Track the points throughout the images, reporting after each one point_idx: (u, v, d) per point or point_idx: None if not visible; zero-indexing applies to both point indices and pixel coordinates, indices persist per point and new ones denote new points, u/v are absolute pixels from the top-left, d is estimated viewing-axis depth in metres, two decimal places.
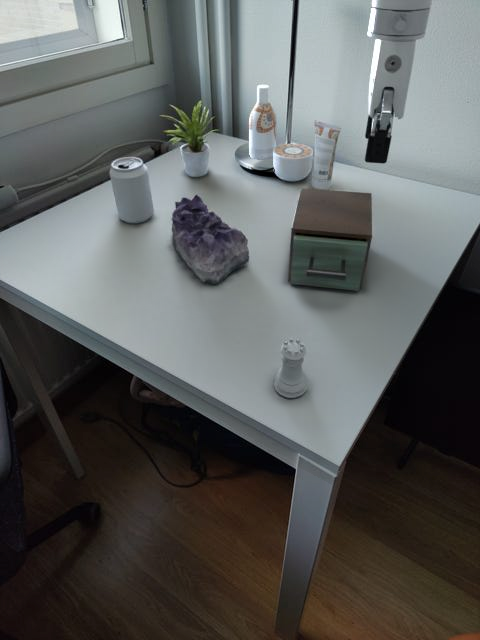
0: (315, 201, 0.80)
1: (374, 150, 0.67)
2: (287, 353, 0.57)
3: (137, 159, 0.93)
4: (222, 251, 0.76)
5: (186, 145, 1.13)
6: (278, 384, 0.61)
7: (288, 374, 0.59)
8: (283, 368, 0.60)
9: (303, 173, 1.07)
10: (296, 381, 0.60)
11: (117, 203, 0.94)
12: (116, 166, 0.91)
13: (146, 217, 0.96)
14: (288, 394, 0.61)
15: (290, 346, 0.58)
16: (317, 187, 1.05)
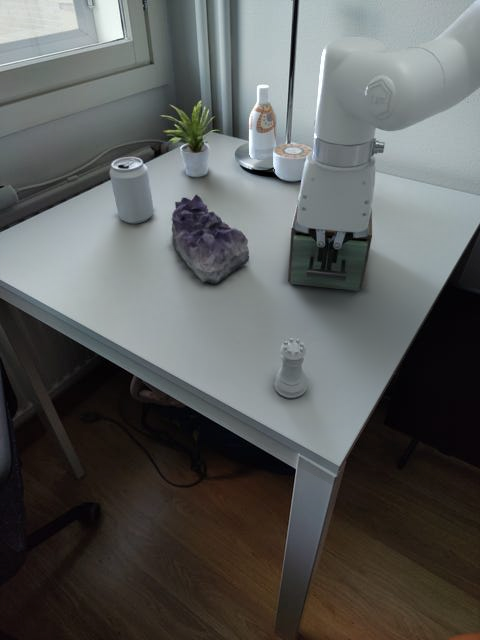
0: None
1: (337, 256, 0.70)
2: (287, 353, 0.57)
3: (137, 159, 0.93)
4: (222, 251, 0.76)
5: (186, 145, 1.13)
6: (278, 384, 0.61)
7: (288, 374, 0.59)
8: (283, 368, 0.60)
9: None
10: (296, 381, 0.60)
11: (117, 203, 0.94)
12: (116, 166, 0.91)
13: (146, 217, 0.96)
14: (288, 394, 0.61)
15: (290, 346, 0.58)
16: None
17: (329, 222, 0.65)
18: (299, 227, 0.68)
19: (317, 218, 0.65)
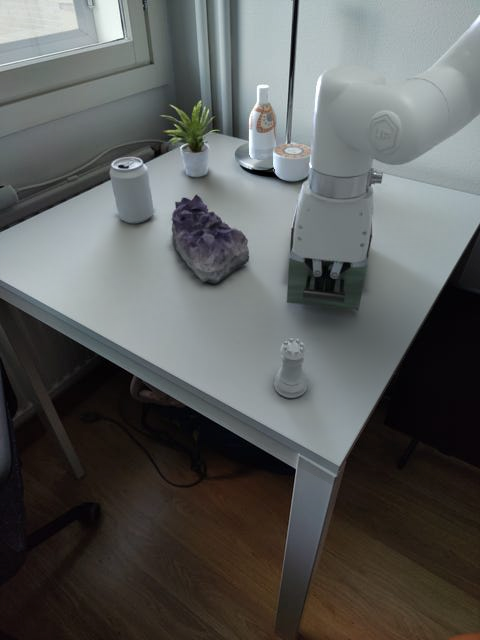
0: None
1: (334, 285, 0.68)
2: (287, 353, 0.57)
3: (137, 159, 0.93)
4: (222, 251, 0.76)
5: (186, 145, 1.13)
6: (278, 384, 0.61)
7: (288, 374, 0.59)
8: (283, 368, 0.60)
9: (303, 173, 1.07)
10: (296, 381, 0.60)
11: (117, 203, 0.94)
12: (116, 166, 0.91)
13: (146, 217, 0.96)
14: (288, 394, 0.61)
15: (290, 346, 0.58)
16: None
17: (326, 252, 0.63)
18: (295, 256, 0.66)
19: (313, 248, 0.63)
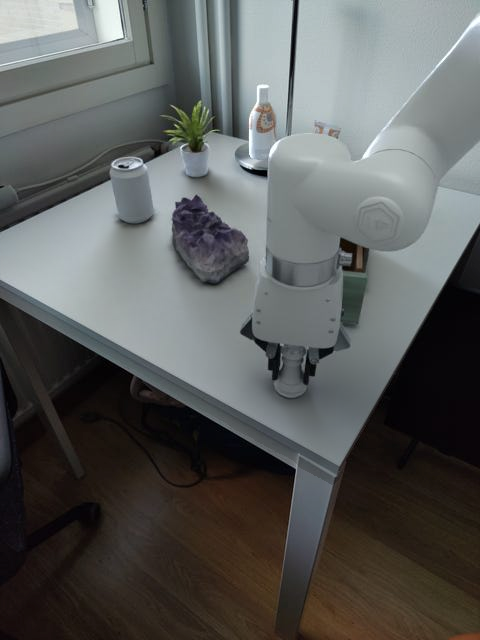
0: None
1: (315, 369, 0.59)
2: (287, 353, 0.57)
3: (137, 159, 0.93)
4: (222, 251, 0.76)
5: (186, 145, 1.13)
6: (278, 384, 0.61)
7: (288, 374, 0.59)
8: (283, 368, 0.60)
9: None
10: (296, 381, 0.60)
11: (117, 203, 0.94)
12: (116, 166, 0.91)
13: (146, 217, 0.96)
14: (288, 394, 0.61)
15: (290, 346, 0.58)
16: None
17: (289, 338, 0.54)
18: (245, 332, 0.57)
19: (275, 333, 0.54)
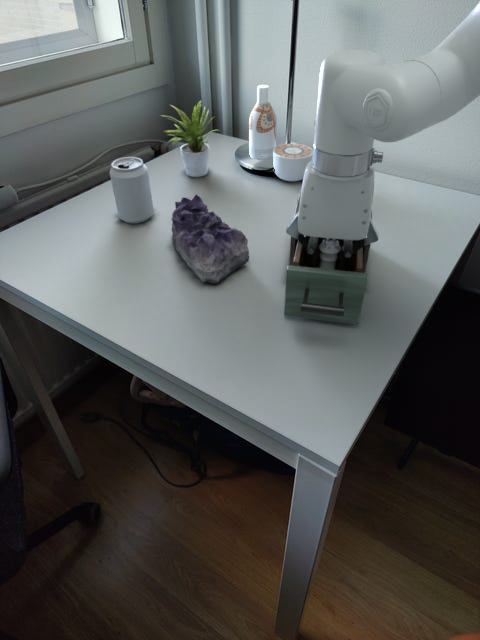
0: None
1: None
2: (325, 248, 0.69)
3: (137, 159, 0.93)
4: (222, 251, 0.76)
5: (186, 145, 1.13)
6: None
7: None
8: (320, 265, 0.72)
9: (303, 173, 1.07)
10: None
11: (117, 203, 0.94)
12: (116, 166, 0.91)
13: (146, 217, 0.96)
14: None
15: (328, 244, 0.70)
16: None
17: (329, 230, 0.66)
18: (290, 231, 0.69)
19: (317, 226, 0.66)
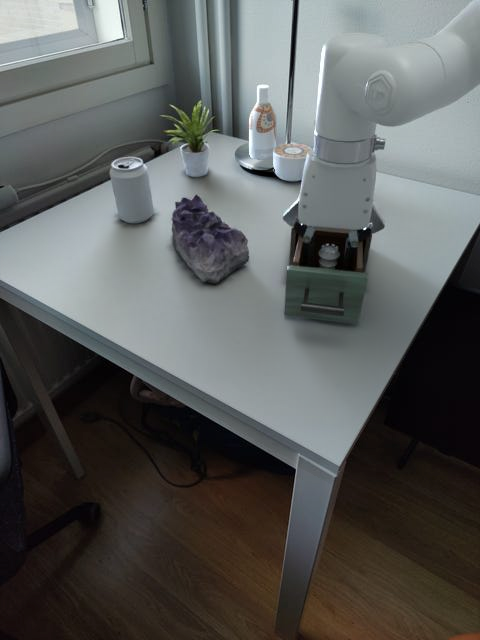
0: None
1: None
2: (324, 254, 0.70)
3: (137, 159, 0.93)
4: (222, 251, 0.76)
5: (186, 145, 1.13)
6: None
7: None
8: None
9: None
10: None
11: (117, 203, 0.94)
12: (116, 166, 0.91)
13: (146, 217, 0.96)
14: None
15: (327, 249, 0.70)
16: None
17: (330, 220, 0.65)
18: (287, 218, 0.68)
19: (318, 216, 0.65)
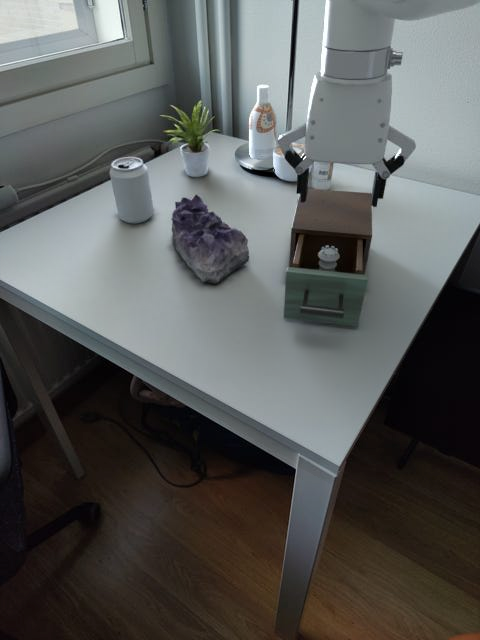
0: (315, 201, 0.80)
1: None
2: (324, 256, 0.69)
3: (137, 159, 0.93)
4: (222, 251, 0.76)
5: (186, 145, 1.13)
6: None
7: None
8: None
9: None
10: None
11: (117, 203, 0.94)
12: (116, 166, 0.91)
13: (146, 217, 0.96)
14: None
15: (326, 251, 0.70)
16: (317, 187, 1.05)
17: (340, 152, 0.58)
18: (283, 142, 0.60)
19: (327, 148, 0.58)
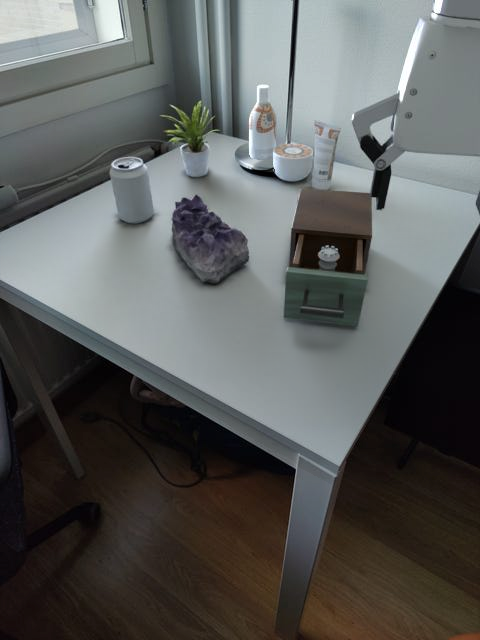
0: (315, 201, 0.80)
1: None
2: (324, 256, 0.69)
3: (137, 159, 0.93)
4: (222, 251, 0.76)
5: (186, 145, 1.13)
6: None
7: None
8: None
9: (303, 173, 1.07)
10: None
11: (117, 203, 0.94)
12: (116, 166, 0.91)
13: (146, 217, 0.96)
14: None
15: (326, 251, 0.70)
16: (317, 187, 1.05)
17: (450, 138, 0.39)
18: (359, 122, 0.41)
19: (430, 132, 0.39)
